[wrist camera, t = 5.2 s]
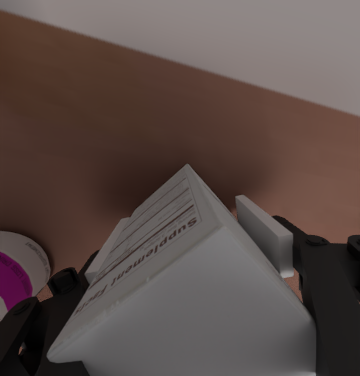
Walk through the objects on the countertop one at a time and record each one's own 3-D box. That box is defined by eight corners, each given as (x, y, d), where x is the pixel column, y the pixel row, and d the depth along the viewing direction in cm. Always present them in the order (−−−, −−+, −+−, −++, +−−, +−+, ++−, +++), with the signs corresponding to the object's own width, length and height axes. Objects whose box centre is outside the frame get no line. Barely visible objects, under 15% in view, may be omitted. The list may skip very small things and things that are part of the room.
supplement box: (233, 213, 18) (359, 371, 6) (179, 254, 19) (189, 457, 7) (188, 159, 16) (230, 221, 4) (132, 207, 17) (33, 369, 5)
